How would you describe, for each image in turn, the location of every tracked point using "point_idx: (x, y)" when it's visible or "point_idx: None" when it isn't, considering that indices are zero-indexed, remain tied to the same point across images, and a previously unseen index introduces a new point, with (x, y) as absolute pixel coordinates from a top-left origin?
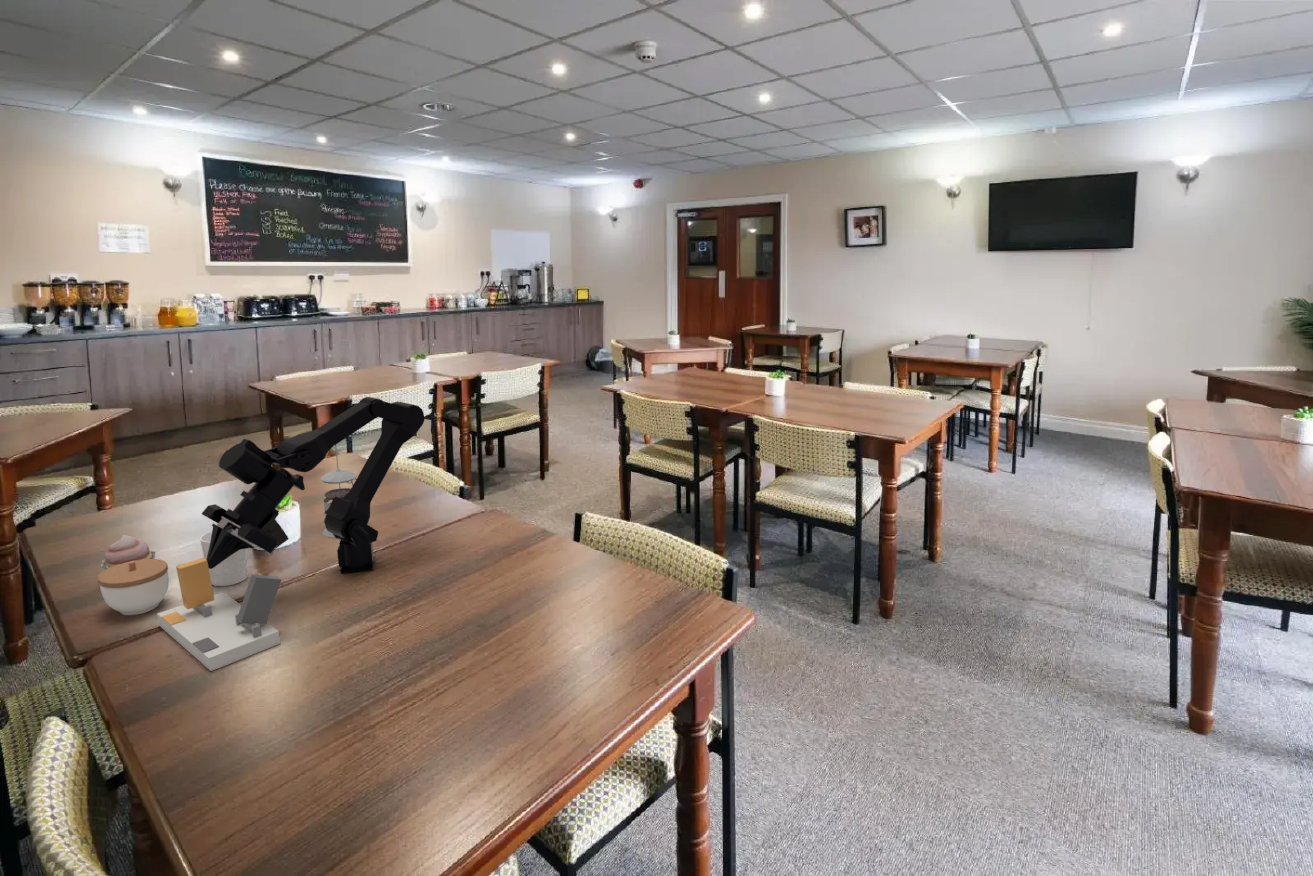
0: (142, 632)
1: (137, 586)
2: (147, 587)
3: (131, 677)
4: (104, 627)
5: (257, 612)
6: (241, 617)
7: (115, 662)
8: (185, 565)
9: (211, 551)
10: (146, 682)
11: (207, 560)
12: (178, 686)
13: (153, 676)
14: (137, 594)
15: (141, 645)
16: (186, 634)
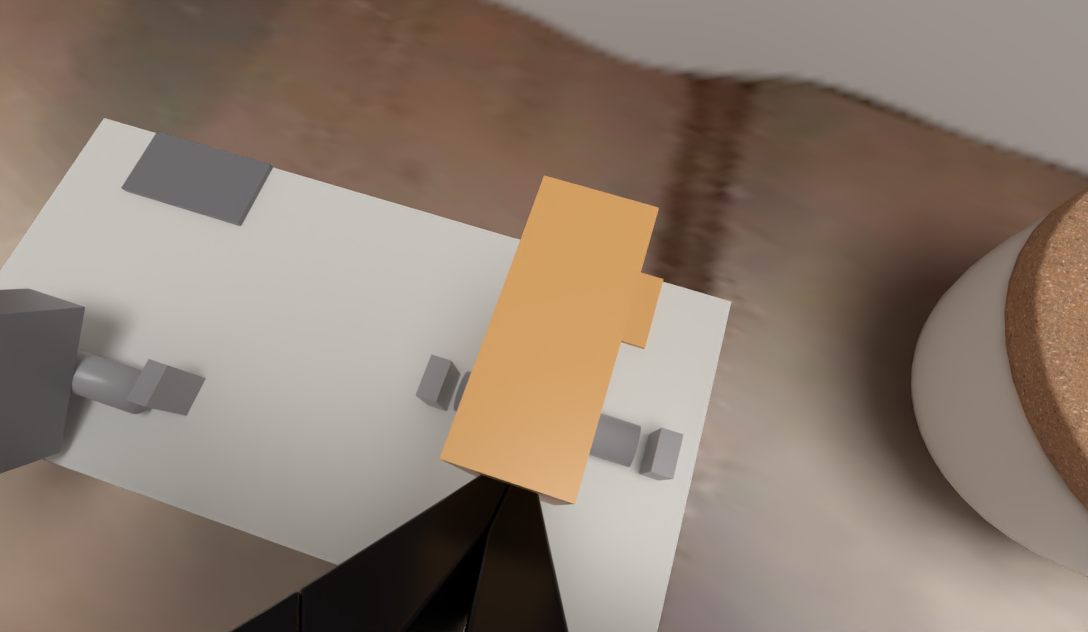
0: (713, 256)
1: (1005, 282)
2: (974, 340)
3: (413, 43)
4: (914, 225)
5: None
6: (10, 294)
7: (567, 80)
8: (570, 255)
9: (473, 606)
10: (332, 42)
11: (507, 513)
12: (197, 61)
13: (341, 70)
14: (963, 297)
15: (602, 186)
16: (377, 213)
